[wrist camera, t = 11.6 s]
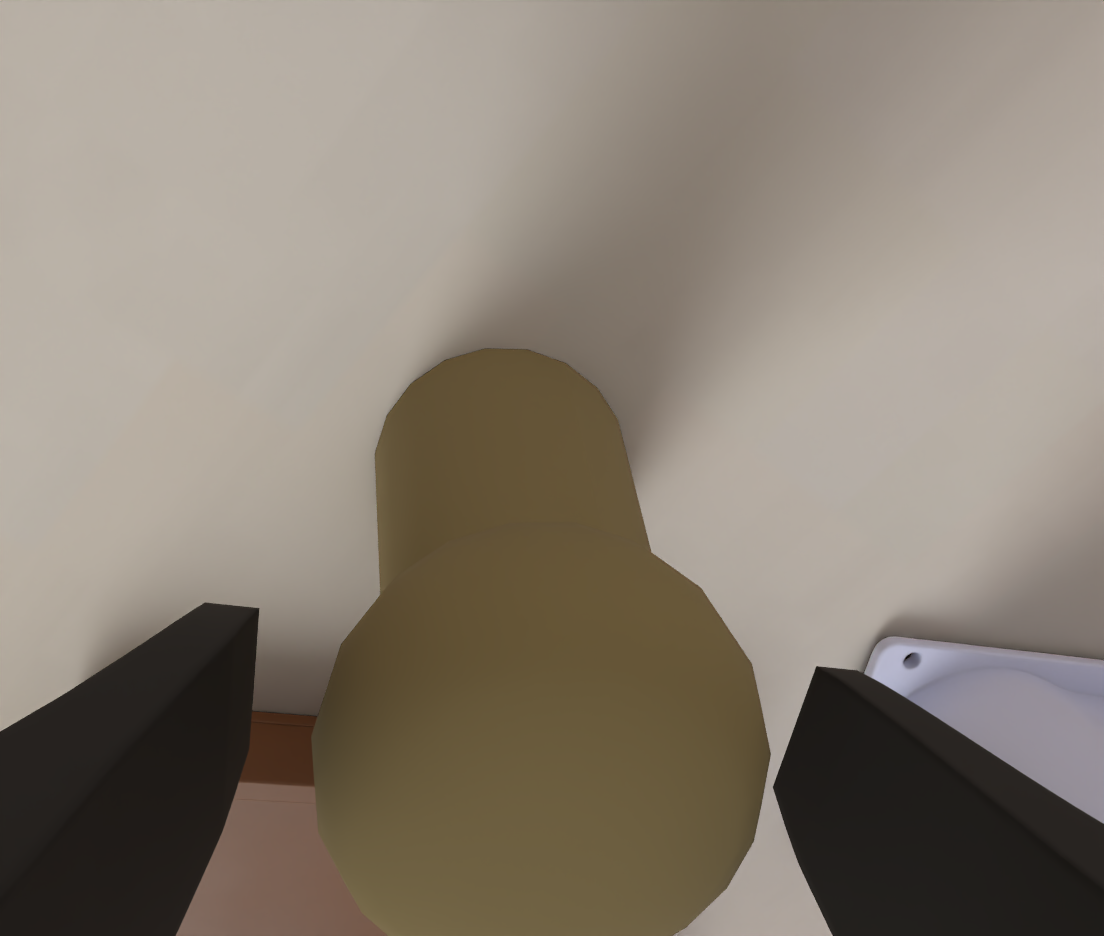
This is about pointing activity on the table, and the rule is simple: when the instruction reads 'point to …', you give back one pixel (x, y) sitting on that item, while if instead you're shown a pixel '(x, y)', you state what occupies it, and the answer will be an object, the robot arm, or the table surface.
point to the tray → (274, 849)
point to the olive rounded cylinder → (530, 681)
